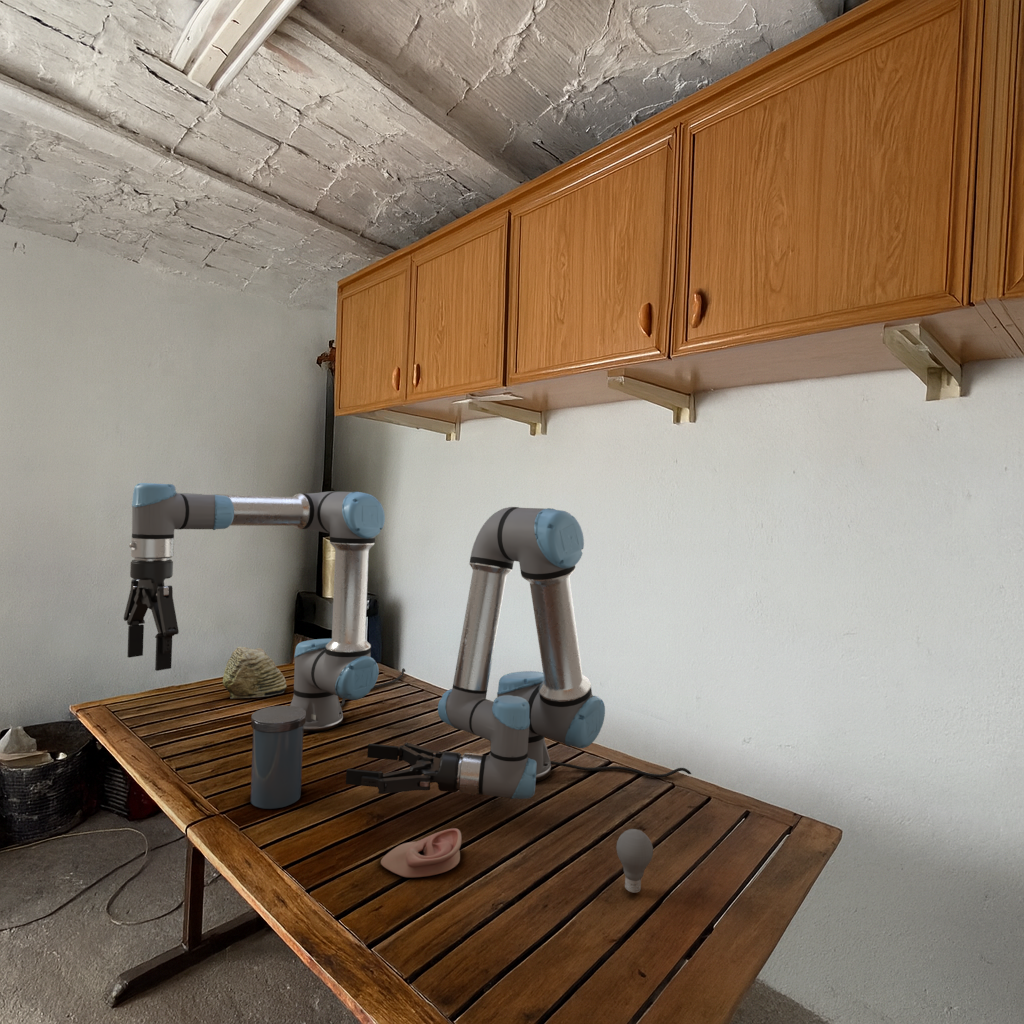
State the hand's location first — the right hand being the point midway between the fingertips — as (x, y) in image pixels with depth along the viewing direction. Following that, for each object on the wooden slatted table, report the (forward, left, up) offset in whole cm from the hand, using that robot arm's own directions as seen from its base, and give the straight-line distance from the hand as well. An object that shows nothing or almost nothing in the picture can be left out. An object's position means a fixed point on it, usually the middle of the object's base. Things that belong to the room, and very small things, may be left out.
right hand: (357, 762), depth 130 cm
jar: (+16, -8, -9) cm, 20 cm away
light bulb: (-40, +41, -9) cm, 59 cm away
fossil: (+22, -80, -9) cm, 84 cm away
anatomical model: (-9, +23, -9) cm, 26 cm away
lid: (+15, -8, +8) cm, 19 cm away
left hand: (+41, -15, +19) cm, 47 cm away
